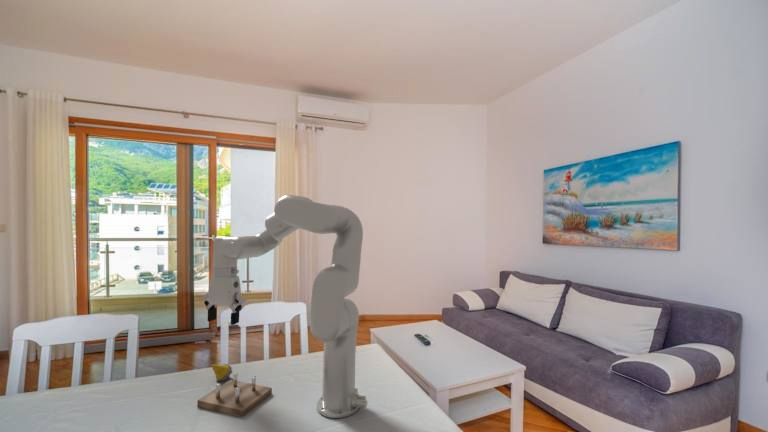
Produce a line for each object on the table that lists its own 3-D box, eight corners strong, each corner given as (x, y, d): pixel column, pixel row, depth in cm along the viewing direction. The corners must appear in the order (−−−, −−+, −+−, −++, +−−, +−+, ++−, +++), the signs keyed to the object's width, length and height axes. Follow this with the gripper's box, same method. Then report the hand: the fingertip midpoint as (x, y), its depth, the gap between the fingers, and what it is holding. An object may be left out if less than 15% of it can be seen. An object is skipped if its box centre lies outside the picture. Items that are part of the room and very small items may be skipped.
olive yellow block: (235, 380, 110) (216, 369, 104) (221, 386, 110) (202, 375, 104) (237, 366, 115) (219, 354, 108) (223, 372, 115) (205, 360, 108)
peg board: (271, 393, 102) (272, 375, 102) (242, 417, 89) (243, 396, 89) (230, 385, 106) (231, 367, 107) (197, 406, 94) (198, 386, 94)
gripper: (253, 272, 111) (251, 321, 111) (213, 268, 116) (211, 316, 116) (237, 275, 104) (235, 328, 104) (195, 271, 109) (194, 322, 109)
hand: (223, 322), depth 110 cm, fingers open, 9 cm apart
